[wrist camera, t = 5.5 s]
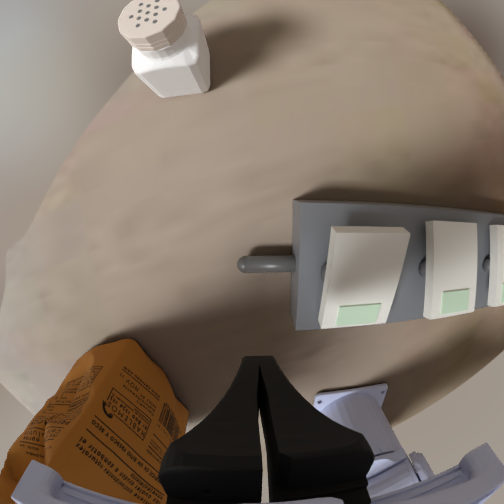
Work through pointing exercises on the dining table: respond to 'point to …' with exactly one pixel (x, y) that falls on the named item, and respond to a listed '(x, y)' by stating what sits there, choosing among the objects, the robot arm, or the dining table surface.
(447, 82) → the dining table surface
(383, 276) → the rocker
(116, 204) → the dining table surface
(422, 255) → the switch strip
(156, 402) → the coffee package
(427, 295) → the rocker
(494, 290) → the rocker
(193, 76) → the pepper shaker
